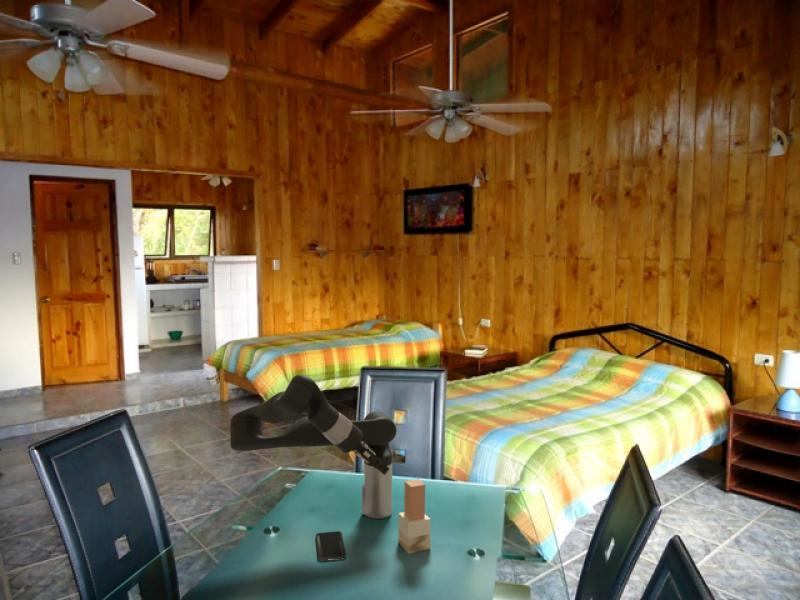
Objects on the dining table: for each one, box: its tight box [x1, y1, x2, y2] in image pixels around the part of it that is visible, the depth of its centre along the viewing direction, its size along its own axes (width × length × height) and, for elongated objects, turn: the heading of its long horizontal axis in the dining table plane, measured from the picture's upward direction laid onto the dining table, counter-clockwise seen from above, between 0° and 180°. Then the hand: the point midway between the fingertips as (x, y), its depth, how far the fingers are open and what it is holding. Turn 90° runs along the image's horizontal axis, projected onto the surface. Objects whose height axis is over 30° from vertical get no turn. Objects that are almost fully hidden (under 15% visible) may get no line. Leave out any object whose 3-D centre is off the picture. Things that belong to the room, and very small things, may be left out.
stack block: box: [403, 478, 426, 521], centre depth 168 cm, size 4×4×10 cm
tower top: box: [398, 511, 431, 538], centre depth 168 cm, size 7×7×4 cm
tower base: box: [397, 528, 431, 554], centre depth 169 cm, size 7×7×4 cm
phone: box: [315, 530, 347, 561], centre depth 167 cm, size 8×1×15 cm
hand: (380, 466), depth 162 cm, fingers open, 8 cm apart
